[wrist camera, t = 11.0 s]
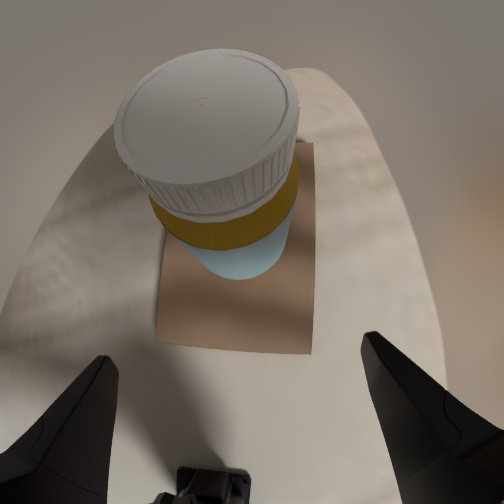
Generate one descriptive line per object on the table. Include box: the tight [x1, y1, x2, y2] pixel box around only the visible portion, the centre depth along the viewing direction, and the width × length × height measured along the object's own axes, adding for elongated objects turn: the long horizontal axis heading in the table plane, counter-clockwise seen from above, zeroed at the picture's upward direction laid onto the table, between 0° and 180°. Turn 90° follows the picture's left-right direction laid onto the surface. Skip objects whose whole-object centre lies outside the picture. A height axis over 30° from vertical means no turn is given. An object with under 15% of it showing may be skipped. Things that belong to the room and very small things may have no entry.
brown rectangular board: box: [155, 142, 315, 354], centre depth 23 cm, size 18×12×2 cm, turn 176°
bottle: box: [114, 49, 300, 281], centre depth 15 cm, size 7×7×15 cm
